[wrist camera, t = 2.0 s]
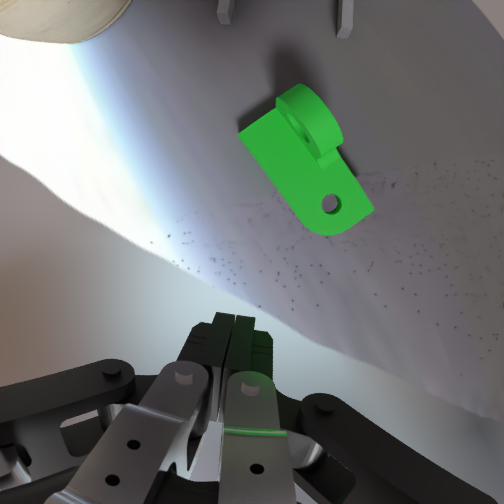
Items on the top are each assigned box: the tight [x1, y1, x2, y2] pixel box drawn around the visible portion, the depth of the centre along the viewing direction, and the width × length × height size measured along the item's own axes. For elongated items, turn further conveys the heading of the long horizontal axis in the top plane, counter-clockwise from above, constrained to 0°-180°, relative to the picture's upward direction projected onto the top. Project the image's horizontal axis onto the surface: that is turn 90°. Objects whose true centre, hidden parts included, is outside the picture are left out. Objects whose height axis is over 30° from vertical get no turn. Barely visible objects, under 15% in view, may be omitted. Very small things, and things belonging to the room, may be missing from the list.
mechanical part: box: [237, 83, 375, 235], centre depth 23 cm, size 12×6×8 cm, turn 36°
